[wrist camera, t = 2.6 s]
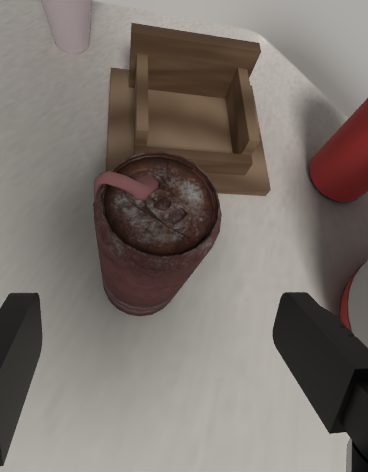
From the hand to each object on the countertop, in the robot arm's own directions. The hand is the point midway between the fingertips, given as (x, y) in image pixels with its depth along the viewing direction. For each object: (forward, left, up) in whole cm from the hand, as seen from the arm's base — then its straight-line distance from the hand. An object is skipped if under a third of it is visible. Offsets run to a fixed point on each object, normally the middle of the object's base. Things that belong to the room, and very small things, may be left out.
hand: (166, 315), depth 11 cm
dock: (-13, +18, -16) cm, 27 cm away
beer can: (+1, +28, -16) cm, 32 cm away
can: (-4, +4, -16) cm, 17 cm away
